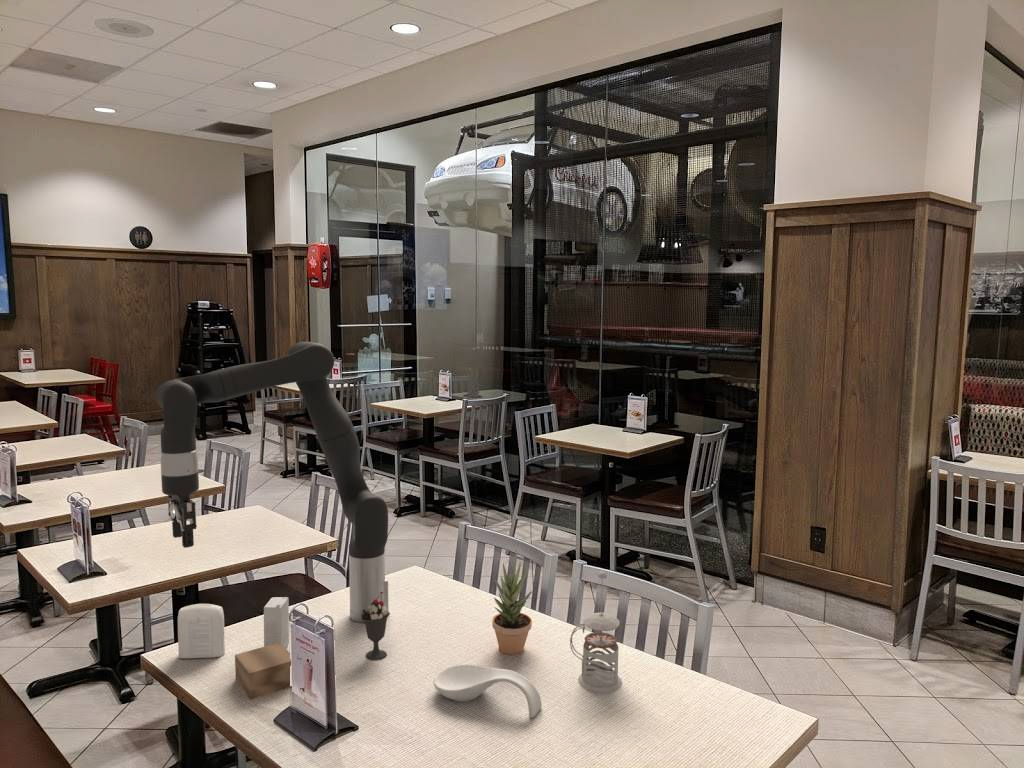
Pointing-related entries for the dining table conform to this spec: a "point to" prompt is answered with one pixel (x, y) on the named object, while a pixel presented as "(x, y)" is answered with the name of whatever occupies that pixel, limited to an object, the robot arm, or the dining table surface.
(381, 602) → the sundae
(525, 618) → the potted plant
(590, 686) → the french press
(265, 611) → the skincare box
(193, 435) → the robot arm
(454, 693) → the spoon rest
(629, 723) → the dining table surface
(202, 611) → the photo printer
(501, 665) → the dining table surface
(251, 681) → the walnut block
